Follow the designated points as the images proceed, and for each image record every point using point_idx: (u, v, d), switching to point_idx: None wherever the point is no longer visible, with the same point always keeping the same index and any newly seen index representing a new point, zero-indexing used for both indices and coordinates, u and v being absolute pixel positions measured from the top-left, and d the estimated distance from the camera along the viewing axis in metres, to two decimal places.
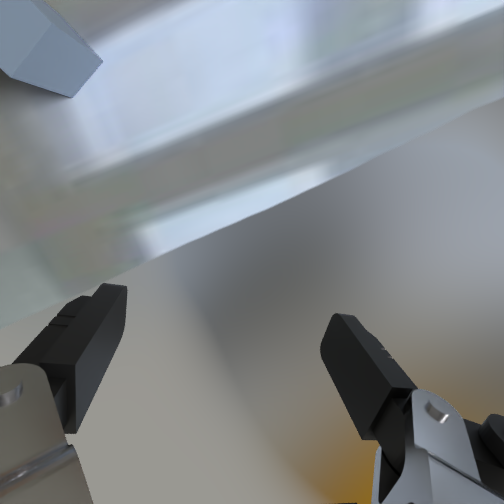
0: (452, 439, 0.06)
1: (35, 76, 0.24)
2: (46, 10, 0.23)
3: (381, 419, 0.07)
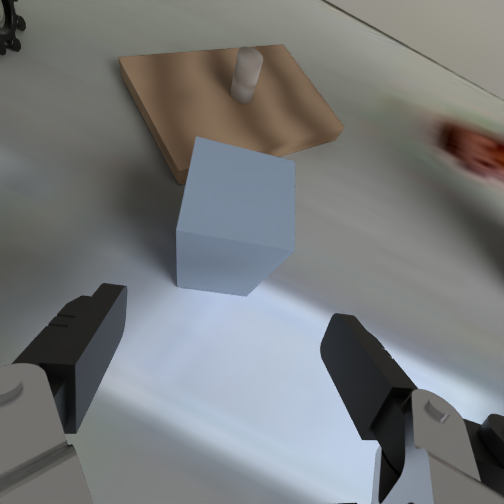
0: (452, 439, 0.06)
1: (193, 253, 0.14)
2: None
3: (381, 419, 0.07)
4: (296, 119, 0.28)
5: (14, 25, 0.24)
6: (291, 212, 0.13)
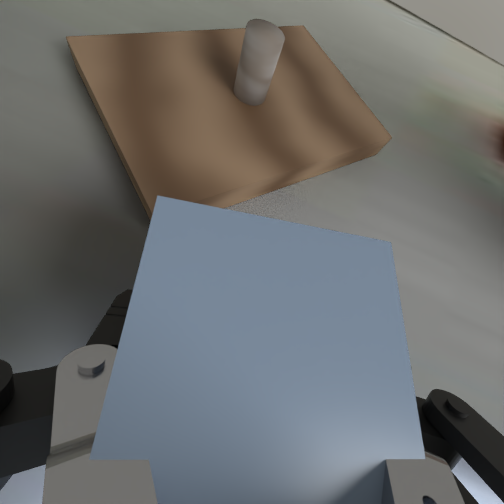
0: None
1: None
2: None
3: None
4: (327, 127, 0.20)
5: None
6: (408, 399, 0.05)
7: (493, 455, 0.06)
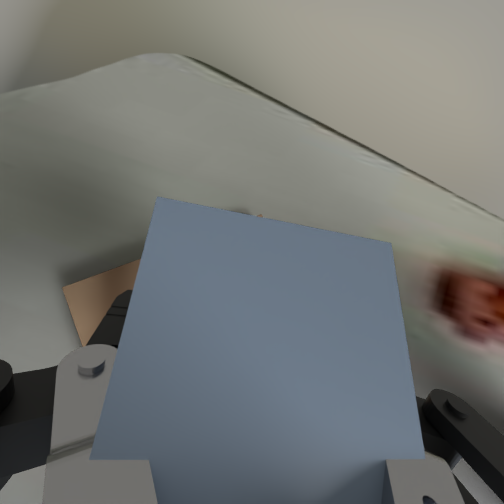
0: None
1: None
2: None
3: None
4: None
5: None
6: (408, 401, 0.05)
7: (493, 455, 0.06)
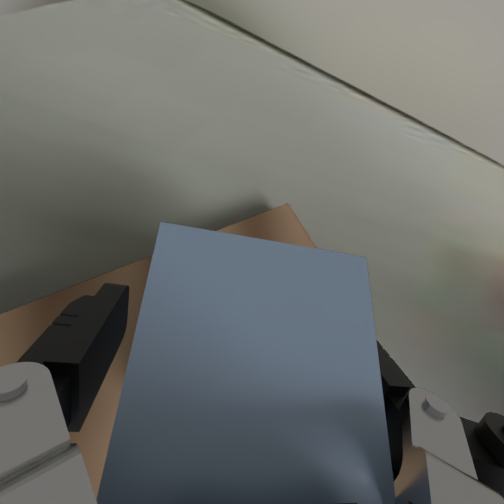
0: (449, 437, 0.06)
1: None
2: None
3: None
4: None
5: None
6: (376, 395, 0.06)
7: None
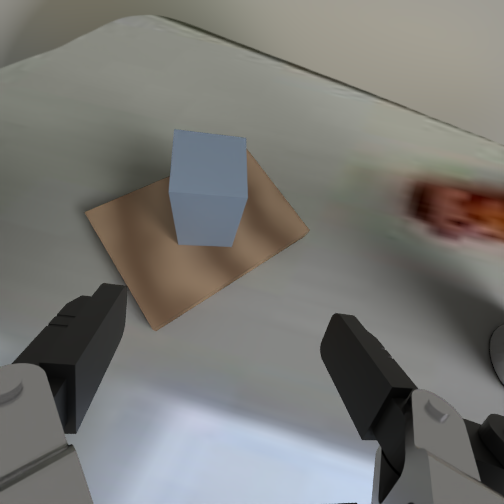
0: (452, 439, 0.06)
1: (183, 209, 0.20)
2: None
3: (381, 419, 0.07)
4: (261, 235, 0.30)
5: None
6: (244, 173, 0.20)
7: None
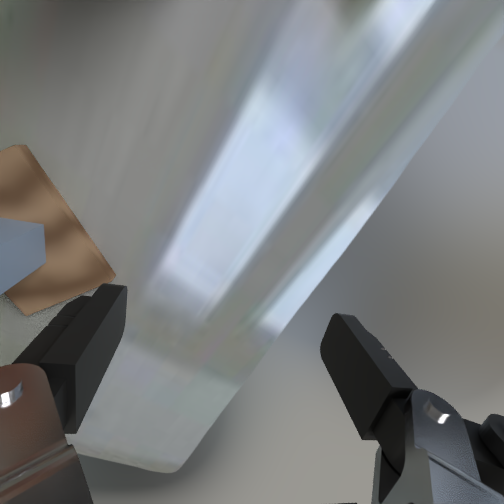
0: (452, 439, 0.06)
1: (5, 284, 0.29)
2: None
3: (381, 419, 0.07)
4: (28, 197, 0.33)
5: None
6: None
7: None
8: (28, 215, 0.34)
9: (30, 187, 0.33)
